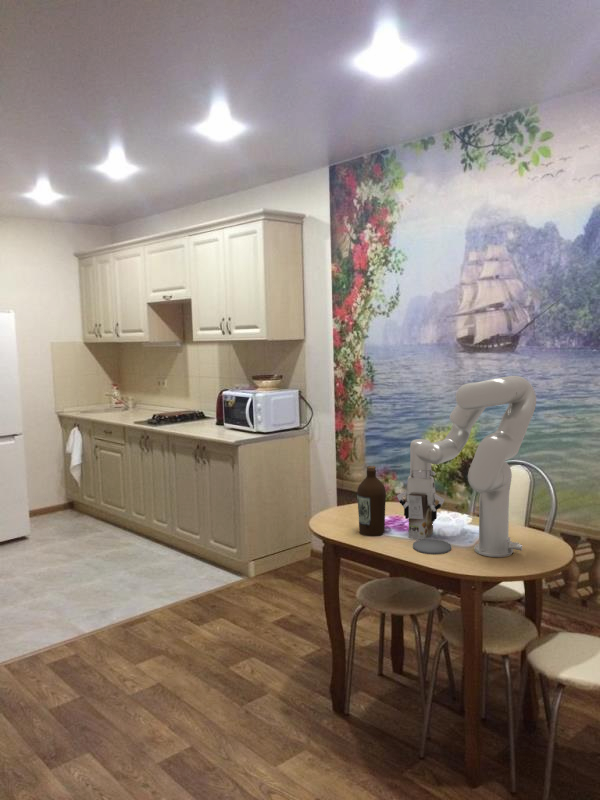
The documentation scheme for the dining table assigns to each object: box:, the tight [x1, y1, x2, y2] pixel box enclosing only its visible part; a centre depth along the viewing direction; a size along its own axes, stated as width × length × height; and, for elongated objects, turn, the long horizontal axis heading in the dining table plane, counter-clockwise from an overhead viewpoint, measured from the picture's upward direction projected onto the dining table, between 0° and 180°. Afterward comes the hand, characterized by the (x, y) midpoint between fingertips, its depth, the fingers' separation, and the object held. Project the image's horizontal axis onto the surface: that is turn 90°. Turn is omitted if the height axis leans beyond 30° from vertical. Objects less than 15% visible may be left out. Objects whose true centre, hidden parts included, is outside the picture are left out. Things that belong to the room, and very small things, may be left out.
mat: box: [412, 538, 452, 555], centre depth 226 cm, size 13×13×1 cm
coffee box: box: [408, 494, 434, 540], centre depth 239 cm, size 9×6×16 cm
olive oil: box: [356, 465, 387, 537], centre depth 243 cm, size 11×11×25 cm
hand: (420, 519), depth 239 cm, fingers open, 9 cm apart
